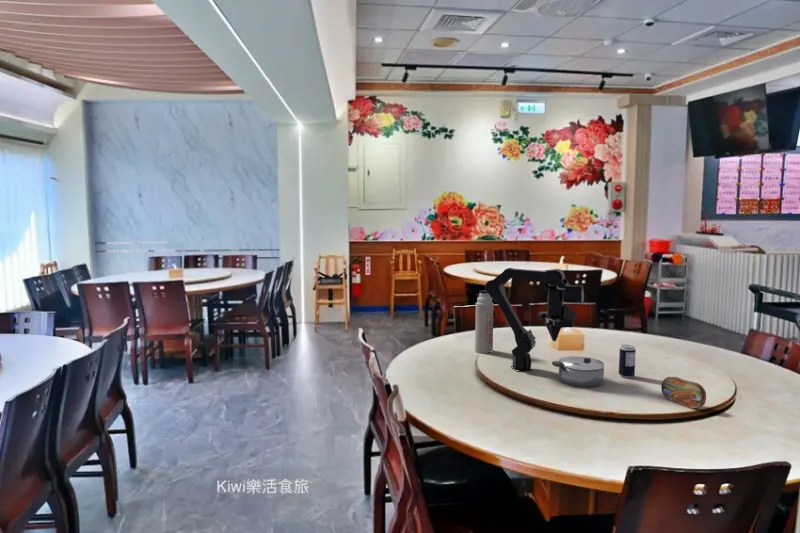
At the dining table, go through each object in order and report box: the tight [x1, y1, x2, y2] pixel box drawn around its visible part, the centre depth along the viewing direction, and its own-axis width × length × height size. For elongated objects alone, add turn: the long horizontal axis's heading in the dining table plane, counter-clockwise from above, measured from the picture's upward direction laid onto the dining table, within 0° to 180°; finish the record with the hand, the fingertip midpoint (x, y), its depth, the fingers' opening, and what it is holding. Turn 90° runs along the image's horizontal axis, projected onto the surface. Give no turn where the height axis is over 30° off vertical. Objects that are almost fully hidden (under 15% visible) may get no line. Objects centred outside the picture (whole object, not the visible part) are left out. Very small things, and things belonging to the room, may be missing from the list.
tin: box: [660, 376, 707, 410], centre depth 179 cm, size 15×3×8 cm, turn 25°
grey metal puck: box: [558, 366, 605, 389], centre depth 203 cm, size 16×16×6 cm
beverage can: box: [618, 344, 637, 379], centre depth 209 cm, size 6×6×12 cm
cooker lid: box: [551, 355, 605, 371], centre depth 202 cm, size 19×16×2 cm
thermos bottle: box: [474, 289, 494, 354], centre depth 246 cm, size 8×8×28 cm
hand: (554, 341), depth 212 cm, fingers closed
